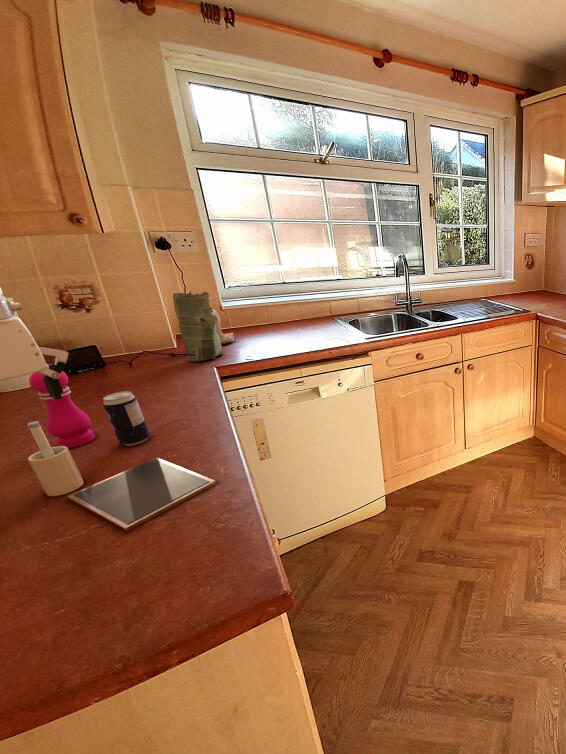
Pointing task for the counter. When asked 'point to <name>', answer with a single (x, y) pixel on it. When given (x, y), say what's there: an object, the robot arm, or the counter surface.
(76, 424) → the pepper mill
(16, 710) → the counter surface
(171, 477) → the tablet
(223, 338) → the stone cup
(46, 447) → the stylus
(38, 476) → the pen pot
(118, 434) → the beverage can
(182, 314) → the pouch
